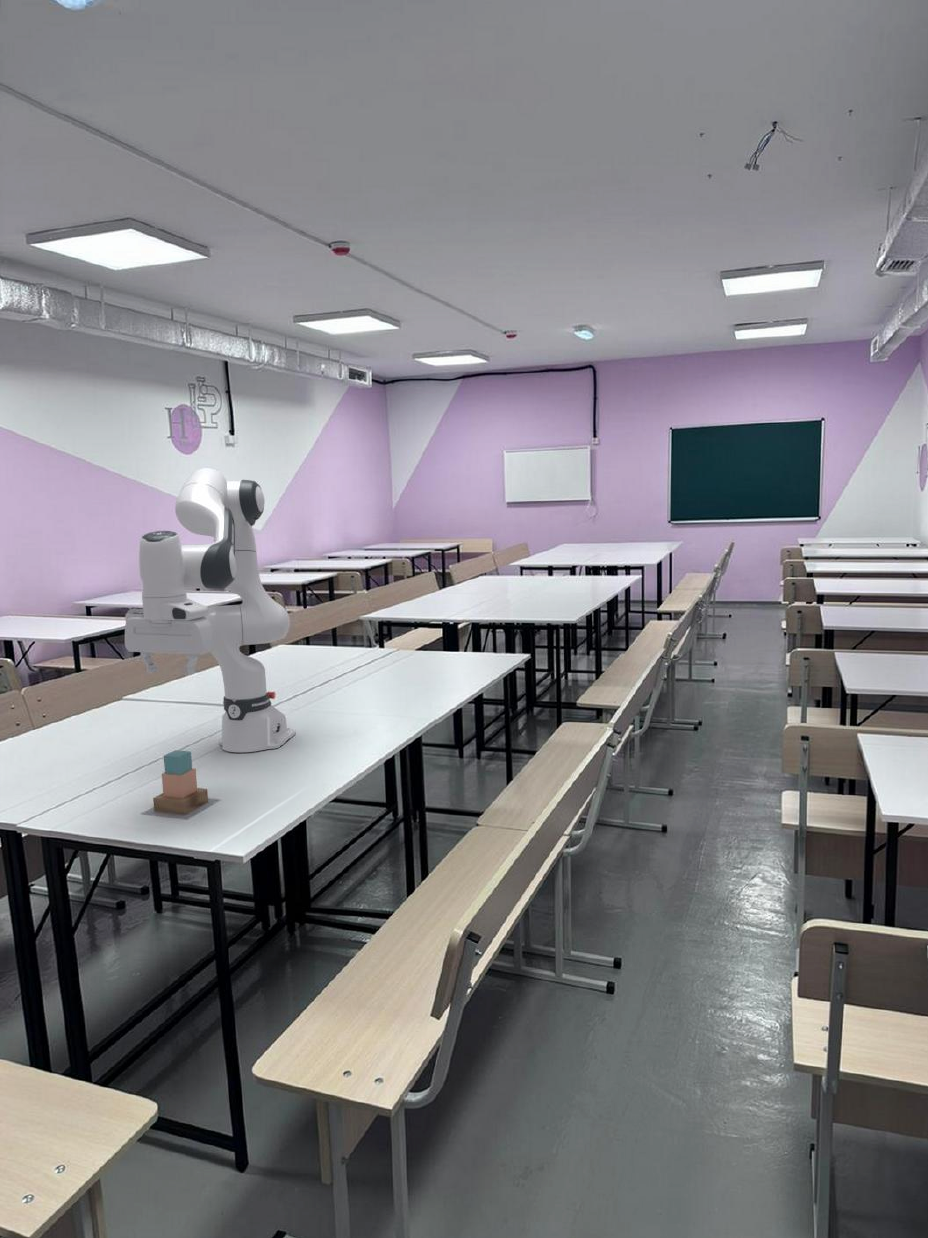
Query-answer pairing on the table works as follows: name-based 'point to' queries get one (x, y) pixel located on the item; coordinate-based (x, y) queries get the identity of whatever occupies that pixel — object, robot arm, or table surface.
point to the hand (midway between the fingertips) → (170, 673)
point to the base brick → (180, 802)
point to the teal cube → (177, 762)
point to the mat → (179, 816)
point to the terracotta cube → (179, 784)
